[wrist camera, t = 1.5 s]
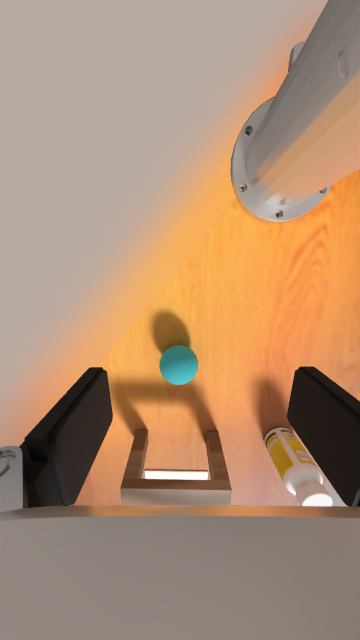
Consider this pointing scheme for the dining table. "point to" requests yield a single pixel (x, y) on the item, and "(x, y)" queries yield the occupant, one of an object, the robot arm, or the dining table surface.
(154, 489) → the bridge
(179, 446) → the dining table surface
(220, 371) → the dining table surface
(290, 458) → the supplement bottle
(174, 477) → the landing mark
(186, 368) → the ball
